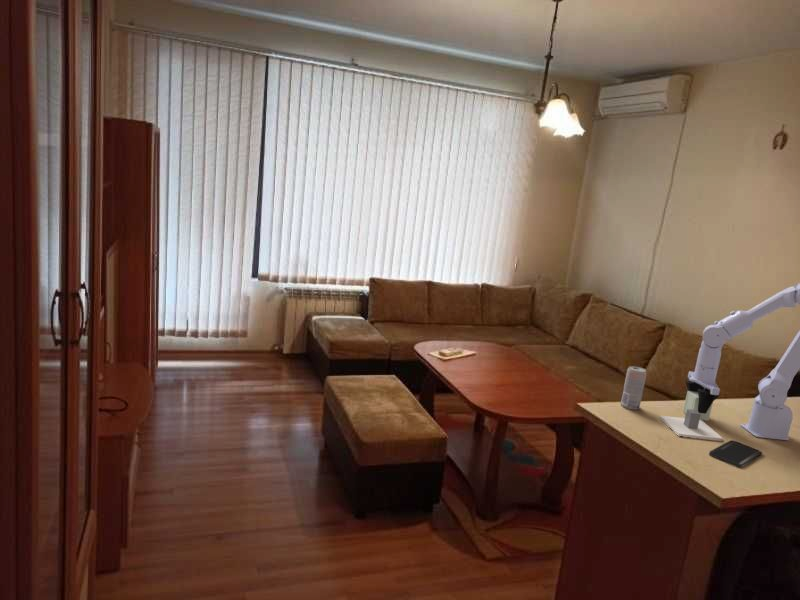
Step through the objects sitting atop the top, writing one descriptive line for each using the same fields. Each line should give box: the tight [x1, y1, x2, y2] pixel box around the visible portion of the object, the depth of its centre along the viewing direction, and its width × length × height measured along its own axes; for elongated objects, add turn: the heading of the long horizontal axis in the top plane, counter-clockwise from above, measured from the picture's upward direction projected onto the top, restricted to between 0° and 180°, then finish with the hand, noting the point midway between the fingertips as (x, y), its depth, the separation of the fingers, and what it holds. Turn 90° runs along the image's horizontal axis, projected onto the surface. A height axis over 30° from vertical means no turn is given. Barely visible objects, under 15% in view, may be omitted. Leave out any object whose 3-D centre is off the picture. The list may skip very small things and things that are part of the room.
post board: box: [659, 409, 724, 442], centre depth 161 cm, size 12×12×5 cm
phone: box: [708, 440, 763, 469], centre depth 148 cm, size 8×1×15 cm
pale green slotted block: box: [682, 390, 714, 421], centre depth 172 cm, size 5×5×7 cm
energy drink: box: [620, 365, 647, 411], centre depth 173 cm, size 5×5×12 cm
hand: (697, 408), depth 172 cm, fingers closed on pale green slotted block, 5 cm apart
